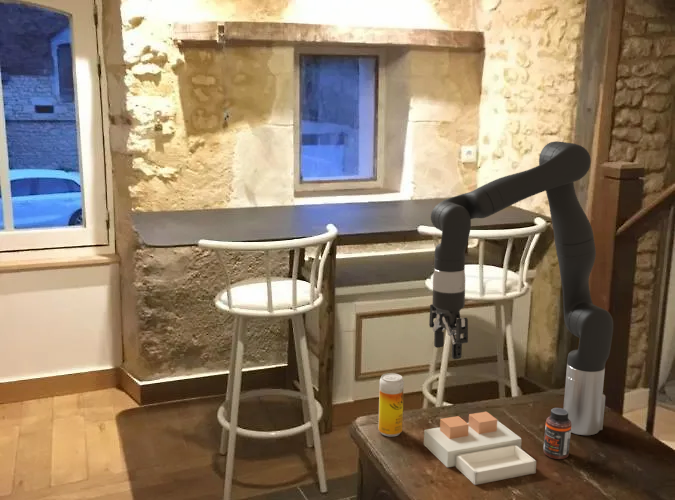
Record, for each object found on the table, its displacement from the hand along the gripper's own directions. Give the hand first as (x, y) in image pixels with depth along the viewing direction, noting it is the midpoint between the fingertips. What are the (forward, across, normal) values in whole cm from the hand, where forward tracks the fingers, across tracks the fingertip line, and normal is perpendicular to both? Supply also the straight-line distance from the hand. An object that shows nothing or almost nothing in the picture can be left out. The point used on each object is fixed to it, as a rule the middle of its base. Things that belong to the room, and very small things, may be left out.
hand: (447, 352), depth 180 cm
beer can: (+24, +11, +10) cm, 29 cm away
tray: (+24, -15, -5) cm, 29 cm away
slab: (+24, -4, -5) cm, 25 cm away
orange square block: (+20, -2, -1) cm, 21 cm away
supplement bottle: (+25, -13, -23) cm, 36 cm away
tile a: (+20, -2, -9) cm, 23 cm away
